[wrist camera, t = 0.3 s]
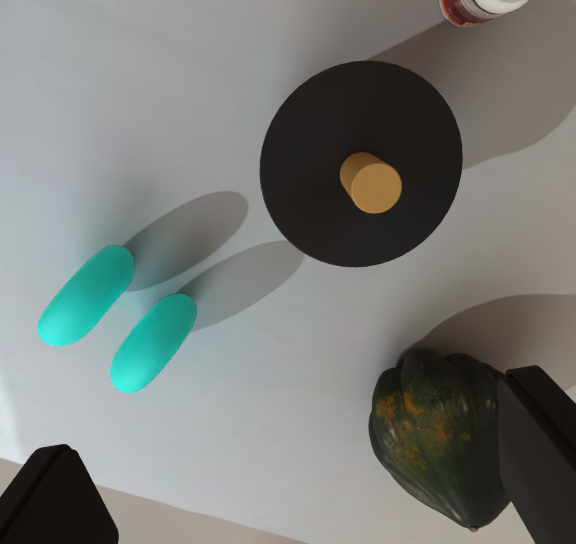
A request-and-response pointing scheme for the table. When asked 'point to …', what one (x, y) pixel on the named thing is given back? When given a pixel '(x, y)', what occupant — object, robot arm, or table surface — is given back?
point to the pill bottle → (477, 10)
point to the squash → (442, 434)
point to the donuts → (96, 302)
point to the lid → (361, 163)
